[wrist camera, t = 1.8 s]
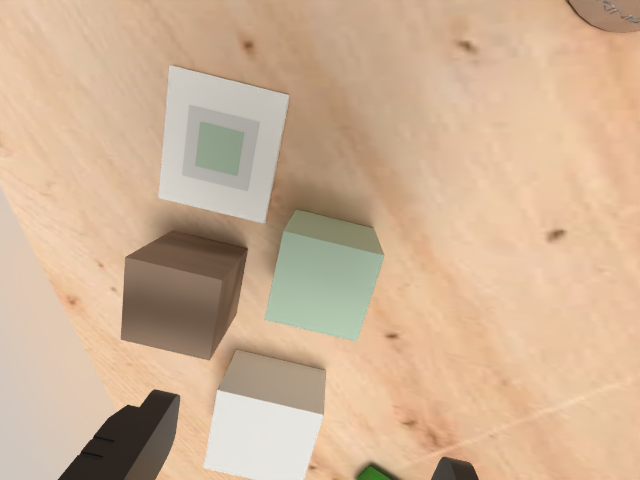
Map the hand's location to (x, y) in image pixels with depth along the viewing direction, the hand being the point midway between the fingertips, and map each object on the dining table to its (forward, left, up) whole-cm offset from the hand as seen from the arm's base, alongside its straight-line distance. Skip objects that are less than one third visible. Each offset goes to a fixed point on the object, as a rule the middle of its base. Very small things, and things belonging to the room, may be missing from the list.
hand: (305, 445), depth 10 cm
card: (-6, -9, -16) cm, 20 cm away
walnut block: (+4, -9, -17) cm, 19 cm away
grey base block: (+14, -1, -17) cm, 22 cm away
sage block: (0, 0, -17) cm, 17 cm away
